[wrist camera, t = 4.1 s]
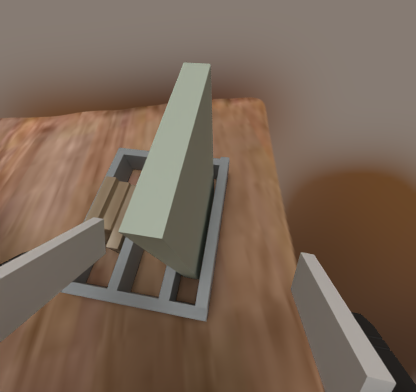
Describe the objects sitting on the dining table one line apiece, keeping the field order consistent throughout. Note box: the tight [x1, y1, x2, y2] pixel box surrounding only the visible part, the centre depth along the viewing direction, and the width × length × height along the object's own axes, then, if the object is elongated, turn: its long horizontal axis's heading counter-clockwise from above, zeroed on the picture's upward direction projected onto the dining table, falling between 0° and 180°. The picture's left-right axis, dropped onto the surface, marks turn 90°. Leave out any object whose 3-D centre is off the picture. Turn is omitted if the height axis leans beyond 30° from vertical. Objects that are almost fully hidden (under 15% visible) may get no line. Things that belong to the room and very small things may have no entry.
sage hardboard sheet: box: [118, 63, 214, 280], centre depth 20 cm, size 2×13×20 cm, turn 170°
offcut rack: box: [61, 148, 229, 321], centre depth 27 cm, size 18×21×6 cm
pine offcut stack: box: [84, 176, 136, 253], centre depth 28 cm, size 4×9×6 cm, turn 170°
